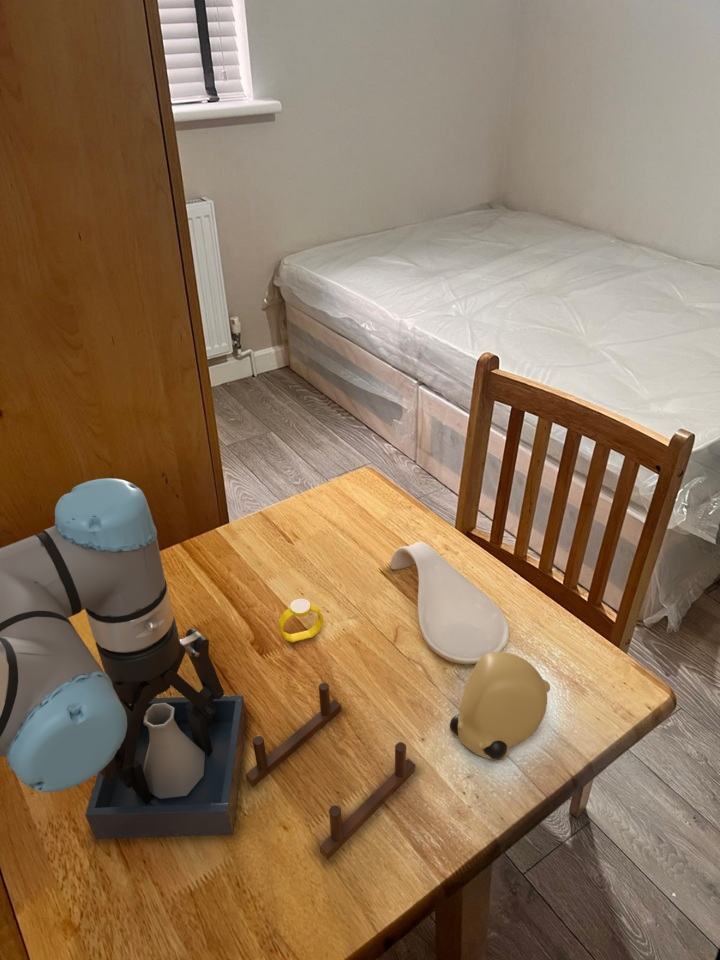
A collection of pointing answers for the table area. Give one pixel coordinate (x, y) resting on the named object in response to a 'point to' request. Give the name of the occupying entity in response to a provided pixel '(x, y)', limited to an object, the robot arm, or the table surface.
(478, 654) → the spoon rest
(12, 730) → the robot arm
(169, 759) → the flask
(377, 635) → the table surface
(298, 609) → the watch
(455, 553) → the table surface
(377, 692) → the table surface
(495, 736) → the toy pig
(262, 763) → the drying rack
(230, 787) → the basin
